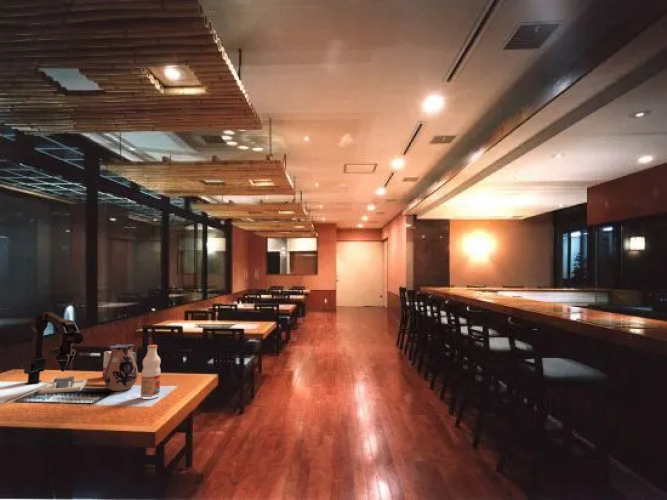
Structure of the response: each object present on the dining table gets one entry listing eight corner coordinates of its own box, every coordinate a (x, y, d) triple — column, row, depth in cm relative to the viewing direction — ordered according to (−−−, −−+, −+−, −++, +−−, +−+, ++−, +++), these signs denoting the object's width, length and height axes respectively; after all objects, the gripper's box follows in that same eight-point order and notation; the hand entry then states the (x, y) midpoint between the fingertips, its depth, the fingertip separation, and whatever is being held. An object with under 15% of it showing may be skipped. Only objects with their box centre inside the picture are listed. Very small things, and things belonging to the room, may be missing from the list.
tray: (47, 385, 236) (48, 378, 236) (86, 383, 243) (87, 375, 243) (38, 394, 220) (38, 385, 220) (80, 390, 227) (80, 382, 227)
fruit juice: (139, 396, 219) (141, 344, 221) (157, 393, 224) (159, 343, 226) (141, 400, 211) (144, 347, 213) (160, 398, 217) (163, 346, 218)
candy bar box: (121, 377, 256) (122, 351, 257) (114, 379, 252) (115, 353, 253) (109, 375, 261) (110, 350, 262) (102, 377, 256) (103, 351, 257)
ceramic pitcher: (111, 395, 220) (114, 349, 221) (95, 388, 232) (97, 345, 234) (143, 388, 234) (145, 345, 235) (125, 382, 246) (127, 341, 248)
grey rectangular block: (56, 386, 232) (56, 377, 232) (73, 384, 235) (74, 376, 235) (53, 388, 227) (53, 379, 228) (71, 387, 230) (72, 378, 231)
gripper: (54, 340, 239) (53, 367, 238) (44, 346, 221) (43, 374, 220) (76, 339, 243) (75, 365, 242) (68, 345, 225) (66, 373, 224)
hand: (64, 369), depth 232 cm, fingers open, 9 cm apart
